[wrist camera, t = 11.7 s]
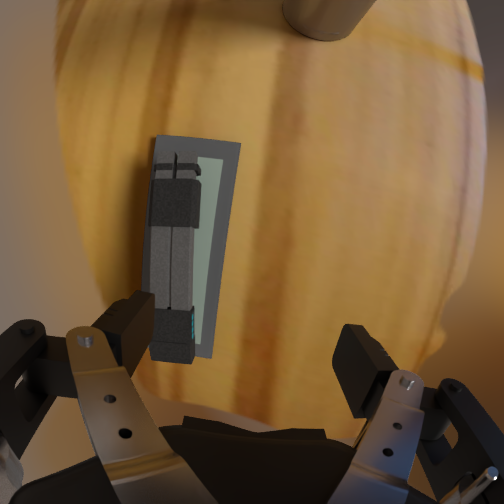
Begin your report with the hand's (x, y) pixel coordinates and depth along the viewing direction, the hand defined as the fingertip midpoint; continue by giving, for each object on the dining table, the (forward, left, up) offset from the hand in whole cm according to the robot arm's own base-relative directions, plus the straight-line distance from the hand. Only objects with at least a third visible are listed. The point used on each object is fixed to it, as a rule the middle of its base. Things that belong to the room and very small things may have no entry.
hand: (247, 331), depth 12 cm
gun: (+2, -7, -20) cm, 21 cm away
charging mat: (+2, -7, -21) cm, 22 cm away
